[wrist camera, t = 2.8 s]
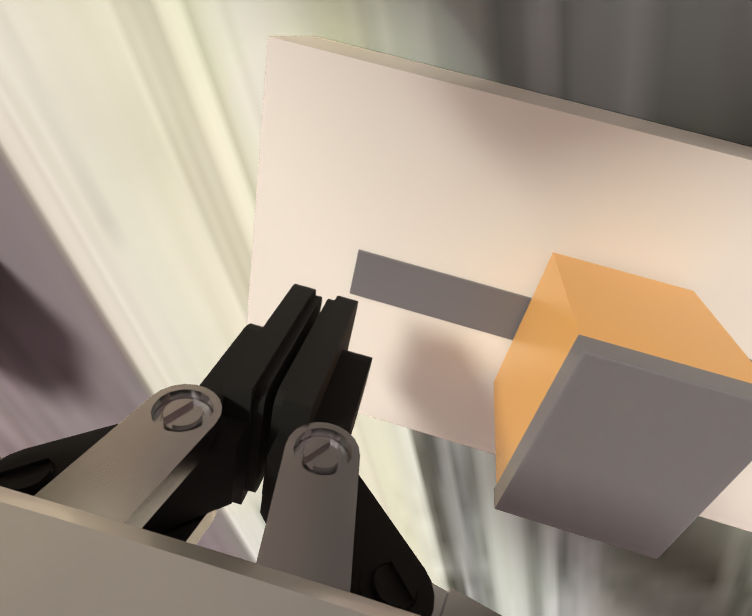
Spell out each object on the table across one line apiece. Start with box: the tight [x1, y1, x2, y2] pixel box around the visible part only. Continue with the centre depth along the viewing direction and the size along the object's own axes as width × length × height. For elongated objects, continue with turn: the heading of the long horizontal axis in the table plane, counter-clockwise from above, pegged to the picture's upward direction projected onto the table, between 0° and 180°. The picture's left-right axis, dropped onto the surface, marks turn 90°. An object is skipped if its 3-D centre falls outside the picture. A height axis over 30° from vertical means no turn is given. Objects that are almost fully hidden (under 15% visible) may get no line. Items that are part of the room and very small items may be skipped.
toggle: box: [494, 252, 752, 559], centre depth 12 cm, size 4×5×5 cm
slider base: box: [247, 36, 752, 532], centre depth 16 cm, size 22×12×4 cm, turn 78°
